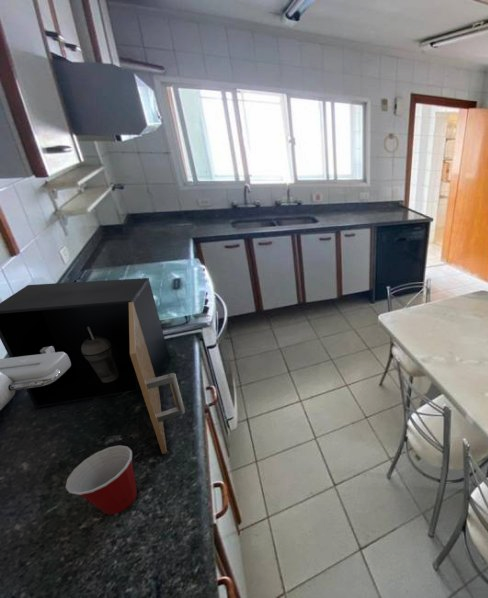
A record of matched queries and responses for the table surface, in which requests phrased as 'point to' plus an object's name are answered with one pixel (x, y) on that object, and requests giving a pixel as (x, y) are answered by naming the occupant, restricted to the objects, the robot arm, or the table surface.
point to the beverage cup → (100, 357)
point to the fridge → (82, 333)
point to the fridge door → (151, 380)
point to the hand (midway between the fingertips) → (21, 352)
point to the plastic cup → (106, 479)
